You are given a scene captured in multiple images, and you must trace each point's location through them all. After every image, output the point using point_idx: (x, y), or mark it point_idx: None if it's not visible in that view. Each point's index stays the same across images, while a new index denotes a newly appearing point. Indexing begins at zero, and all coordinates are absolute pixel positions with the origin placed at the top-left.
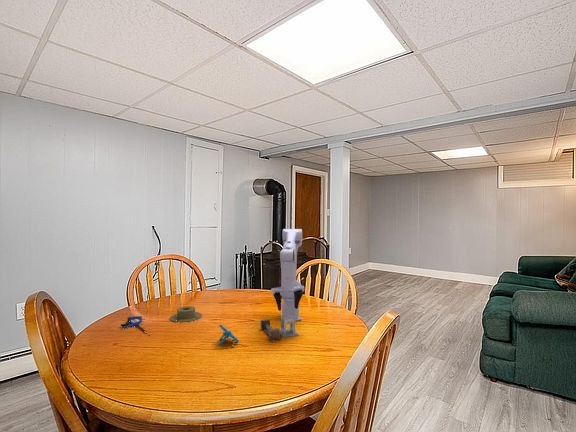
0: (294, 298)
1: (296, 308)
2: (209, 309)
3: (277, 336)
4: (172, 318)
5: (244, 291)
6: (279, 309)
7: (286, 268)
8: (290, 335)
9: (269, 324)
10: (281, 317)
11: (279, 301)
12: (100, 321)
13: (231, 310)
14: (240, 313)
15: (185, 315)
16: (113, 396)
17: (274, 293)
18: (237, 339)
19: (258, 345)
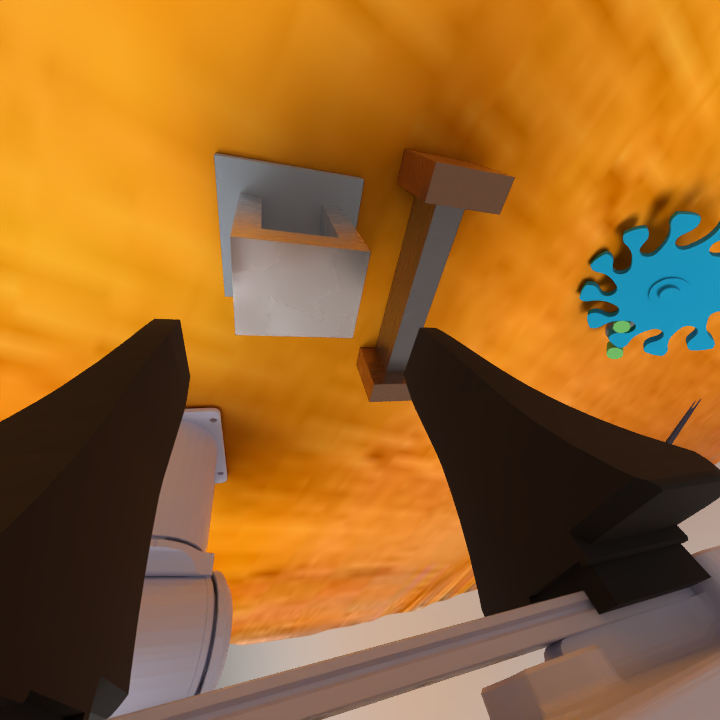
0: (155, 509)
1: (177, 321)
2: (444, 537)
3: (433, 156)
4: None
5: (274, 630)
6: (446, 336)
7: None
8: (297, 169)
9: (371, 365)
10: (355, 321)
11: (537, 400)
12: None
13: (392, 530)
14: (380, 510)
15: None
16: None
17: (715, 561)
18: (612, 258)
19: (566, 141)
